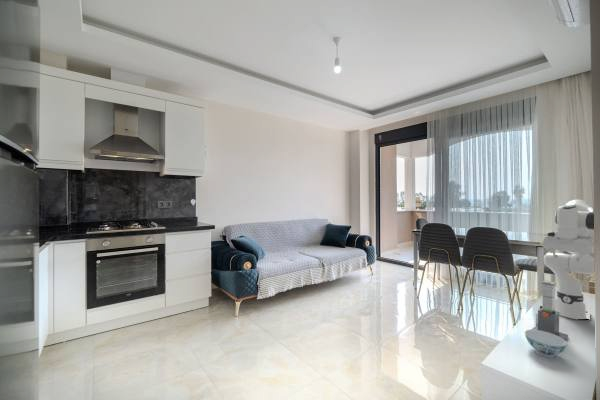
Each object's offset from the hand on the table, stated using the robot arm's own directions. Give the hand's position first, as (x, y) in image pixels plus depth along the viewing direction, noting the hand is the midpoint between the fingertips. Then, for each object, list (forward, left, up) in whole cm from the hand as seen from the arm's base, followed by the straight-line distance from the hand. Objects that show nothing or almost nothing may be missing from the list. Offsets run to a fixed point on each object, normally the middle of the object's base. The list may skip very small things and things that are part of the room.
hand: (566, 259), depth 150 cm
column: (+13, -4, -34) cm, 36 cm away
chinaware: (+36, +1, -41) cm, 55 cm away
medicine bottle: (+1, -8, -41) cm, 42 cm away
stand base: (+13, -4, -41) cm, 43 cm away
